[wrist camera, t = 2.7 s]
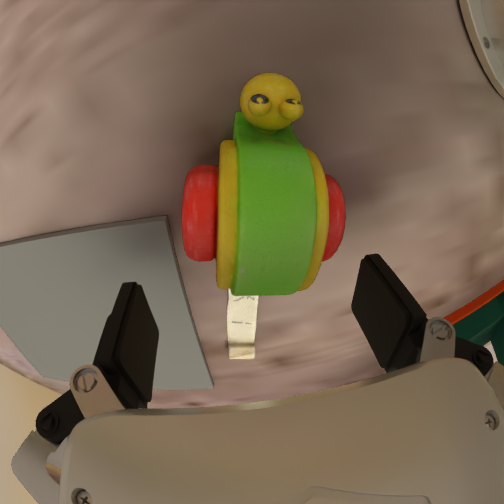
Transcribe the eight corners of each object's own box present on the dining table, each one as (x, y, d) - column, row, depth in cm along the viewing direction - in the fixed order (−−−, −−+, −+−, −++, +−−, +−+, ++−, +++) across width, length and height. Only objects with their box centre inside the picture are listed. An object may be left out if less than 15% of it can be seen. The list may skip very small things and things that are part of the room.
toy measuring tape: (328, 86, 11) (404, 92, 6) (276, 346, 22) (290, 416, 17) (197, 72, 11) (172, 56, 5) (200, 347, 21) (198, 419, 16)
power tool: (313, 400, 29) (344, 543, 13) (301, 378, 25) (339, 557, 9) (507, 302, 25) (567, 400, 9) (520, 267, 21) (595, 374, 5)
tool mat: (-38, 252, 13) (-41, 256, 13) (167, 215, 14) (164, 220, 14) (44, 373, 23) (42, 377, 23) (213, 383, 24) (214, 388, 24)
